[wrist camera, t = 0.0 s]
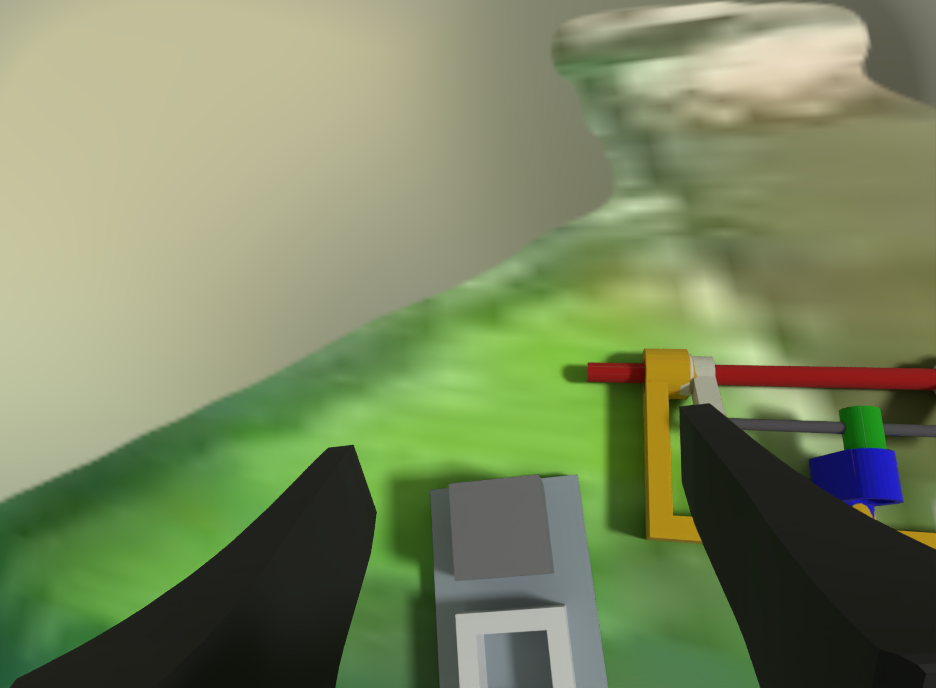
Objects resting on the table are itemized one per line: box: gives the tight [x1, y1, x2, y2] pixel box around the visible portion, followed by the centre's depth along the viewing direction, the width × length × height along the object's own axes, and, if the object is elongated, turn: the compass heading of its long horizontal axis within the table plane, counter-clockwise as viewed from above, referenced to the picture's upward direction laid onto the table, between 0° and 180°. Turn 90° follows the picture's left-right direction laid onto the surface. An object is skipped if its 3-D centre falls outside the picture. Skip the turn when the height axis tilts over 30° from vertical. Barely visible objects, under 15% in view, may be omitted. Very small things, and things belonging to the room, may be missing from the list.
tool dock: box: [430, 474, 608, 688], centre depth 39 cm, size 16×11×6 cm
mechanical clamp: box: [587, 349, 936, 549], centre depth 39 cm, size 18×6×30 cm
